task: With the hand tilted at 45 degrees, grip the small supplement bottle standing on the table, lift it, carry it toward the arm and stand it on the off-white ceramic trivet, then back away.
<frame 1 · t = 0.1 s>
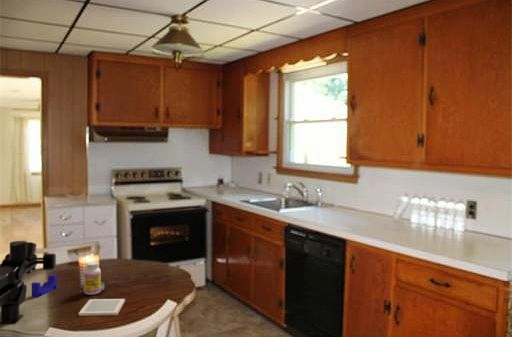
hand: (39, 256, 180), 17 cm above the table, tool horizontal, fingers open, 9 cm apart
trivet: (102, 308, 168), on the table
cable clip: (43, 293, 184), on the table
supplement bottle: (92, 292, 185), on the table
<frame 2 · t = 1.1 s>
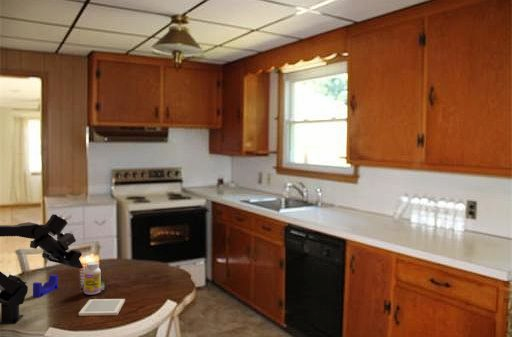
hand: (74, 265, 177), 14 cm above the table, tool tilted 45°, fingers open, 9 cm apart
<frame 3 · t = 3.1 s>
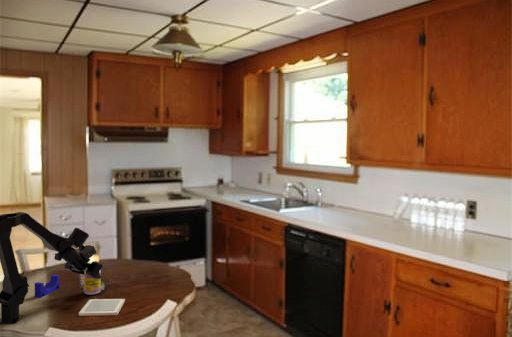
hand: (95, 276, 186), 7 cm above the table, tool tilted 45°, fingers closed on supplement bottle, 7 cm apart
supplement bottle: (92, 292, 185), on the table, touching gripper
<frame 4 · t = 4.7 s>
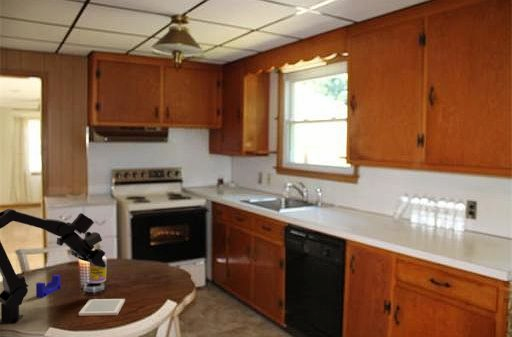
hand: (101, 264, 181), 13 cm above the table, tool tilted 45°, fingers closed on supplement bottle, 7 cm apart
supplement bottle: (97, 281, 180), point 6 cm above the table, touching gripper
when the fingers open (9 cm above the table, at t = 6.9 s): supplement bottle stays where it is, resting on trivet.
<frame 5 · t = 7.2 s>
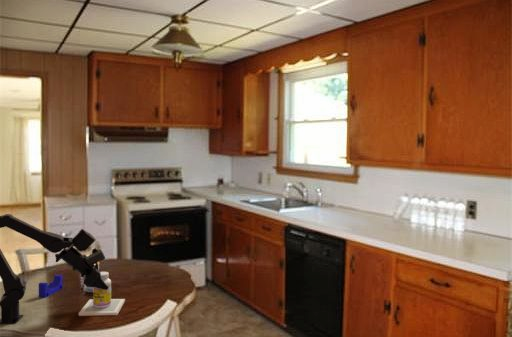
hand: (106, 285, 168), 9 cm above the table, tool tilted 45°, fingers open, 9 cm apart
supplement bottle: (102, 306, 168), point 1 cm above the table, touching trivet
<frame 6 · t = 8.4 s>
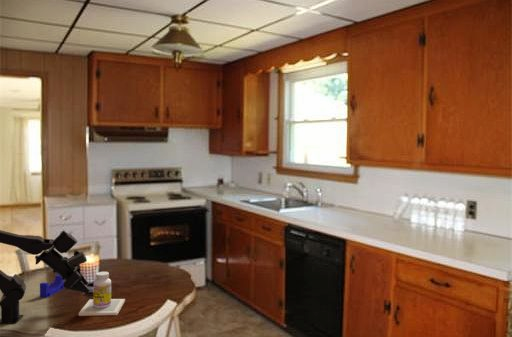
hand: (87, 288, 165), 9 cm above the table, tool tilted 45°, fingers open, 9 cm apart
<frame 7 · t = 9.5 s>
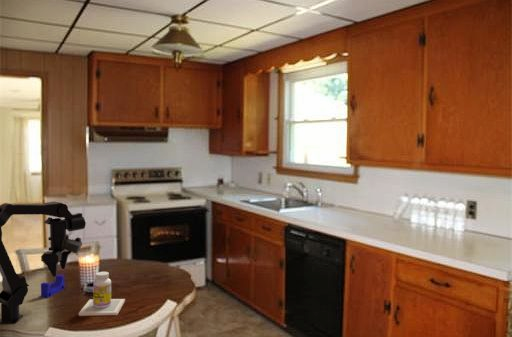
hand: (59, 272, 170), 13 cm above the table, tool pointing down, fingers open, 9 cm apart
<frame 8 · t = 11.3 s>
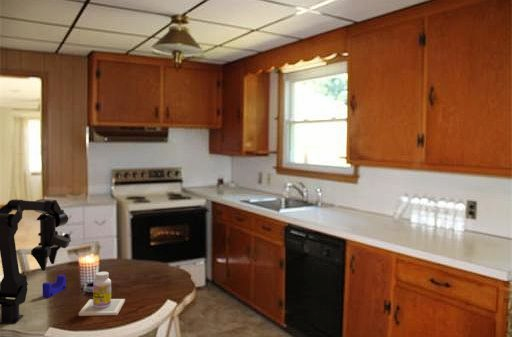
hand: (48, 267, 177), 13 cm above the table, tool pointing down, fingers open, 9 cm apart
at the end: supplement bottle 0.2 cm from the trivet (horizontally); supplement bottle tilted 0°; the gripper is holding nothing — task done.
